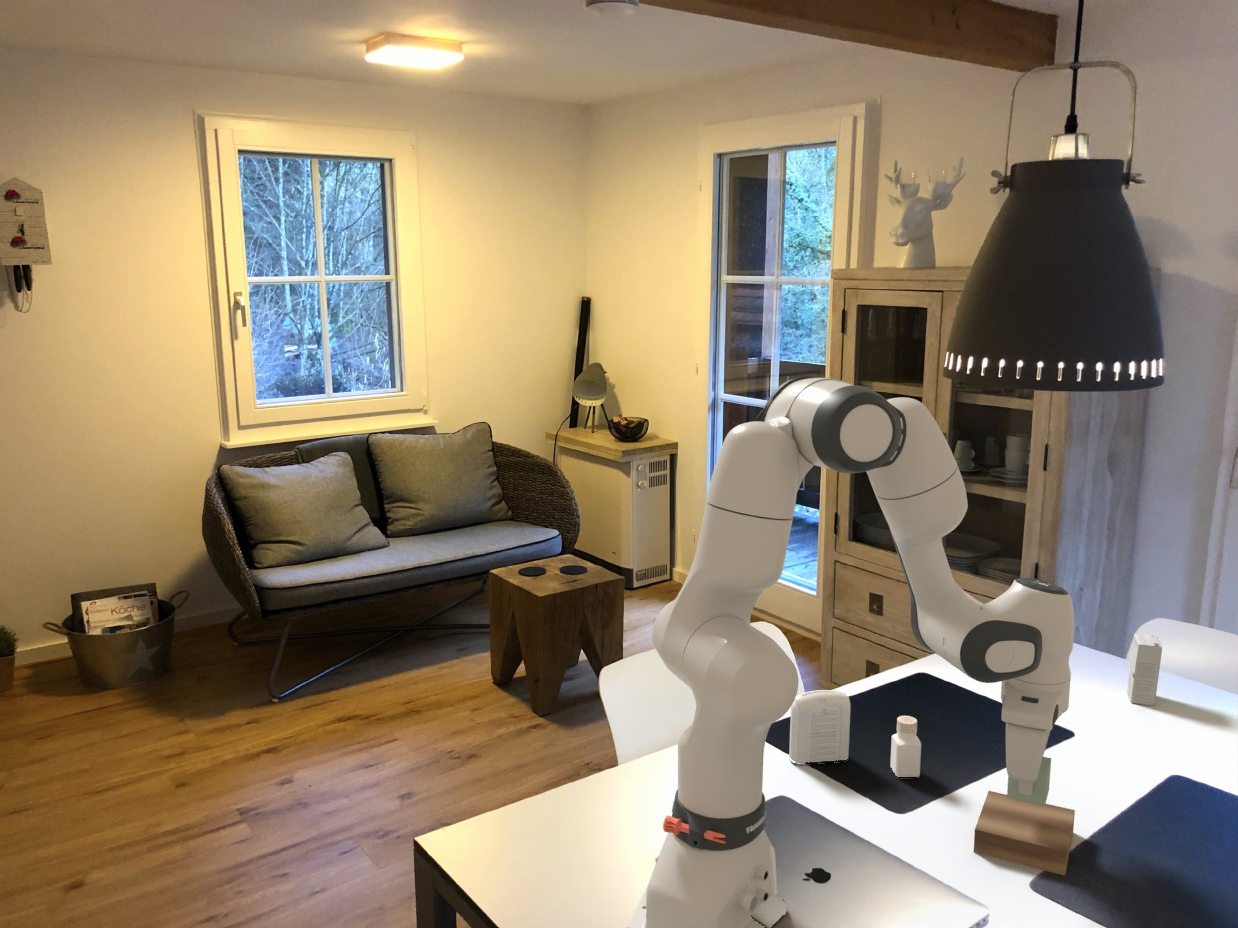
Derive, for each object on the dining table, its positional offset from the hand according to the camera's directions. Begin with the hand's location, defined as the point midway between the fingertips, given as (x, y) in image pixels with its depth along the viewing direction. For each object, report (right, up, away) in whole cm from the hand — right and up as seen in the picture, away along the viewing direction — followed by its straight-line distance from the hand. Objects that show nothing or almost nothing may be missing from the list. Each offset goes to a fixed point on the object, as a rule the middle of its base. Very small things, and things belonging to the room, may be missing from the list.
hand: (1028, 781), depth 141 cm
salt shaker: (-12, -6, +22) cm, 25 cm away
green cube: (0, -2, 0) cm, 2 cm away
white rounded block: (-25, -5, +27) cm, 37 cm away
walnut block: (0, -10, +2) cm, 10 cm away
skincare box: (+42, 0, +48) cm, 64 cm away
